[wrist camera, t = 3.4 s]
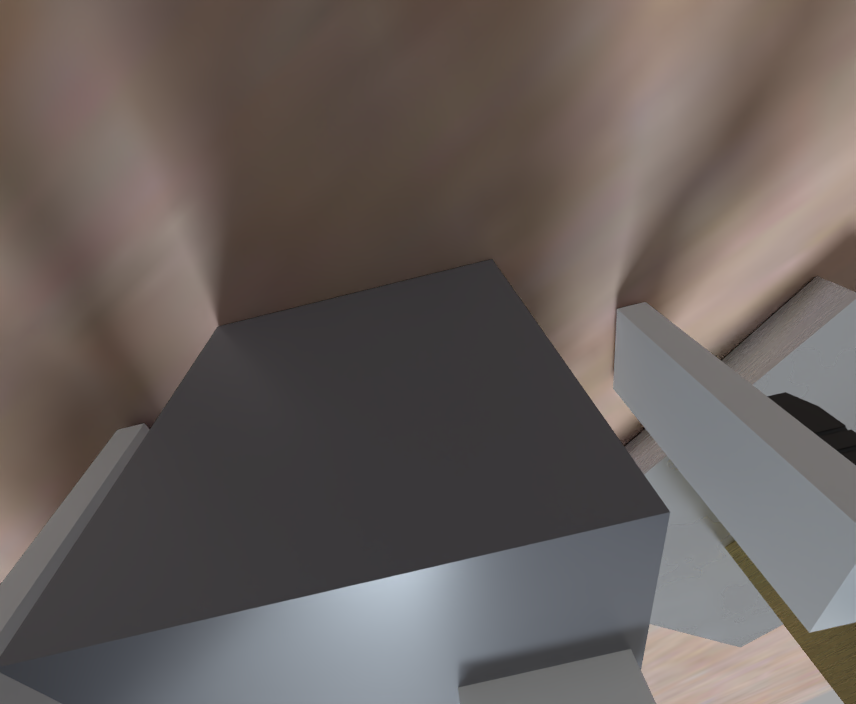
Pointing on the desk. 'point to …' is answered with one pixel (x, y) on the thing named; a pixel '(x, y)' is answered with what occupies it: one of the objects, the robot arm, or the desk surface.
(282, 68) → the desk surface
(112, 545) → the grey cabinet with handle
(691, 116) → the desk surface
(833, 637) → the grey peg base
